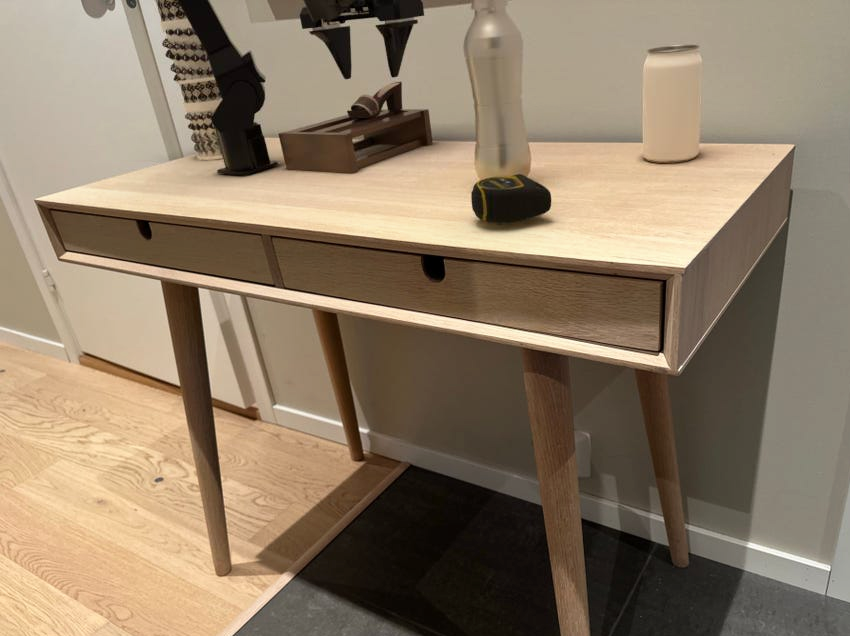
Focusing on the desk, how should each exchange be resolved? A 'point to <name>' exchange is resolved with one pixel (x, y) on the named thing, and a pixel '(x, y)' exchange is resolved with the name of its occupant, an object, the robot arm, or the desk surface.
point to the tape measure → (509, 199)
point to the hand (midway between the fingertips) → (370, 78)
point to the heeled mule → (378, 102)
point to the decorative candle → (192, 77)
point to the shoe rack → (335, 148)
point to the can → (672, 103)
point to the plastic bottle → (497, 91)
